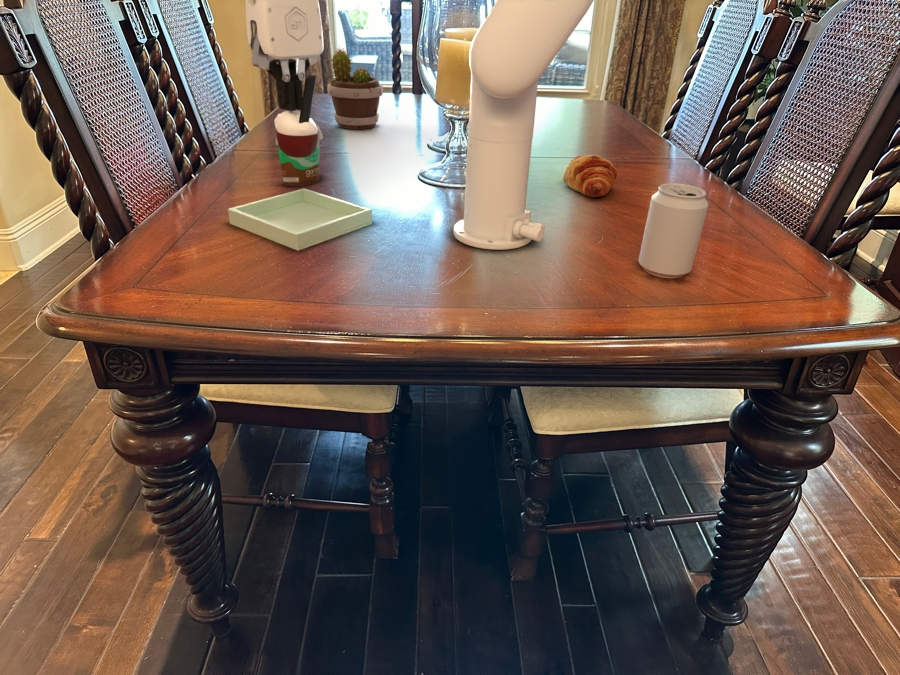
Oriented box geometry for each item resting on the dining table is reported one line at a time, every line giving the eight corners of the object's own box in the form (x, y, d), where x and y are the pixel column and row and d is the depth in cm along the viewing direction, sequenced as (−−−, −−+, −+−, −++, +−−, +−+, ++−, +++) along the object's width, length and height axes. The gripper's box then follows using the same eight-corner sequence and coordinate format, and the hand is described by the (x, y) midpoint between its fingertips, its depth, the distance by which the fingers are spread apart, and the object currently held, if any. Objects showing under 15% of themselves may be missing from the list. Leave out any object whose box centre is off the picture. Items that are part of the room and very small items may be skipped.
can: (660, 283, 84) (680, 199, 78) (626, 263, 90) (642, 182, 84) (702, 276, 87) (724, 193, 81) (666, 256, 93) (684, 178, 87)
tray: (372, 224, 100) (371, 209, 99) (297, 250, 89) (296, 234, 88) (305, 201, 109) (303, 188, 108) (229, 223, 98) (227, 208, 97)
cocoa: (275, 150, 97) (266, 67, 91) (315, 148, 99) (308, 67, 93) (282, 164, 89) (273, 76, 83) (325, 162, 91) (319, 75, 85)
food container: (310, 190, 114) (306, 136, 109) (280, 187, 115) (274, 133, 110) (334, 173, 125) (331, 122, 120) (306, 170, 126) (302, 120, 121)
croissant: (564, 187, 134) (551, 154, 130) (608, 168, 131) (596, 133, 128) (581, 218, 115) (566, 180, 112) (632, 195, 113) (618, 156, 109)
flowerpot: (385, 121, 172) (383, 42, 162) (382, 132, 159) (380, 48, 149) (333, 119, 172) (328, 40, 161) (325, 131, 158) (320, 46, 148)
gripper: (247, -39, 74) (265, 119, 83) (339, -34, 84) (346, 106, 93) (211, -40, 77) (231, 111, 87) (303, -35, 88) (313, 100, 97)
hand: (291, 108), depth 90 cm, fingers closed on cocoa, 1 cm apart
